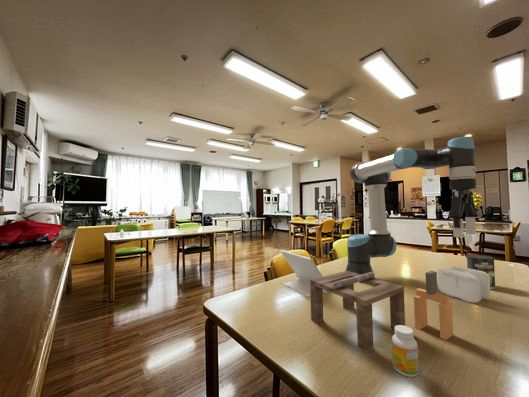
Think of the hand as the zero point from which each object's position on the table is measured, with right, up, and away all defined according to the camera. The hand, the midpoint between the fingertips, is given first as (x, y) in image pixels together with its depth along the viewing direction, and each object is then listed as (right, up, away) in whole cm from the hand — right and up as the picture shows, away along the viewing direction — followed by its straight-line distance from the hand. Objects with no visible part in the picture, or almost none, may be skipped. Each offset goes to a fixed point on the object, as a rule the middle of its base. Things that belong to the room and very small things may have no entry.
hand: (465, 235), depth 85 cm
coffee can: (+31, -29, +26) cm, 50 cm away
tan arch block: (-21, -28, -13) cm, 38 cm away
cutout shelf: (-44, -29, -8) cm, 53 cm away
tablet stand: (-54, -31, +31) cm, 69 cm away
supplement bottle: (-40, -28, -29) cm, 57 cm away
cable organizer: (+11, -29, +13) cm, 34 cm away
